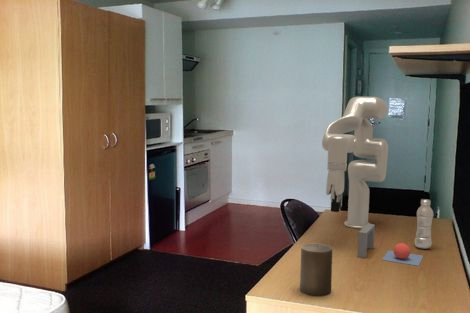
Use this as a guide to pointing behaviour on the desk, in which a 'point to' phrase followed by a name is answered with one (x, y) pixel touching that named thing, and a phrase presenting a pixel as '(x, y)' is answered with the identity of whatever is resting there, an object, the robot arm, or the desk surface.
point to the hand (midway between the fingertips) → (335, 211)
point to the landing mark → (410, 260)
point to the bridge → (365, 240)
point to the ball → (401, 251)
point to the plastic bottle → (424, 225)
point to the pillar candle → (316, 269)
